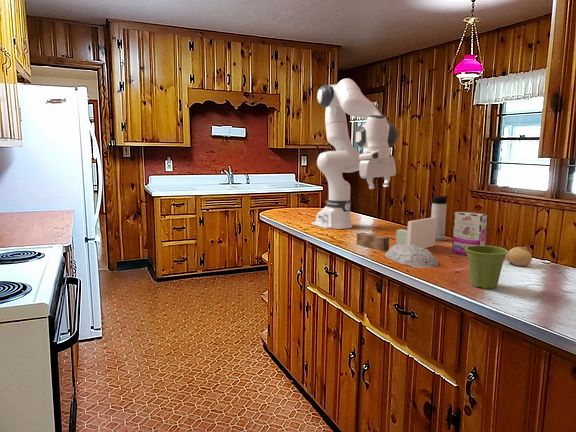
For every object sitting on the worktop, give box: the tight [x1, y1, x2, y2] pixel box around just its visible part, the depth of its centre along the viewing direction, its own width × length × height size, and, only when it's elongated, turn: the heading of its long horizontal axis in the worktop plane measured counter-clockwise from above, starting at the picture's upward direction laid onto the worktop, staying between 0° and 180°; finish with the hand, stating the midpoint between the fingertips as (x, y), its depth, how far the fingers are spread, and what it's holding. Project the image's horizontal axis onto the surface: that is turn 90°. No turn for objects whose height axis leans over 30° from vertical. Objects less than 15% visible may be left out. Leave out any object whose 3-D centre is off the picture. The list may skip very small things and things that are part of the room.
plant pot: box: [465, 245, 509, 290], centre depth 132 cm, size 12×12×11 cm
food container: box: [384, 243, 440, 269], centre depth 164 cm, size 16×25×7 cm, turn 26°
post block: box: [395, 217, 437, 249], centre depth 184 cm, size 9×18×12 cm, turn 130°
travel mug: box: [430, 195, 449, 242], centre depth 198 cm, size 6×7×20 cm
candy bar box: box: [451, 211, 488, 257], centre depth 171 cm, size 11×5×16 cm, turn 40°
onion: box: [505, 246, 533, 267], centre depth 157 cm, size 8×8×7 cm
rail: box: [356, 232, 390, 252], centre depth 183 cm, size 14×4×5 cm, turn 40°
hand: (378, 188), depth 184 cm, fingers open, 8 cm apart
